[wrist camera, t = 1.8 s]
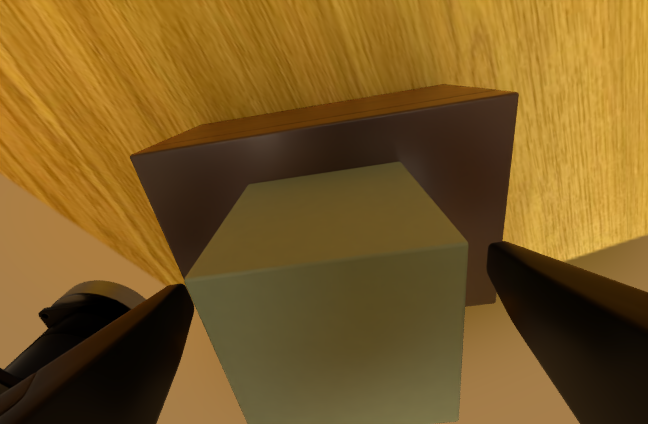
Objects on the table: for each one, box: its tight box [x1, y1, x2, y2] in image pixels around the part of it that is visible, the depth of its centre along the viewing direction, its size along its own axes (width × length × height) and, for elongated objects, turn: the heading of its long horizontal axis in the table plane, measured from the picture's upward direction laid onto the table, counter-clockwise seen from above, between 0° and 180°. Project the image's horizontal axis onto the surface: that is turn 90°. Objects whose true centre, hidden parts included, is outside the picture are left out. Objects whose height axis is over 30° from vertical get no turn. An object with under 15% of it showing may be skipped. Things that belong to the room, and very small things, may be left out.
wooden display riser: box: [130, 84, 519, 307], centre depth 13 cm, size 12×8×6 cm, turn 99°
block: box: [185, 162, 468, 424], centre depth 8 cm, size 5×5×5 cm
